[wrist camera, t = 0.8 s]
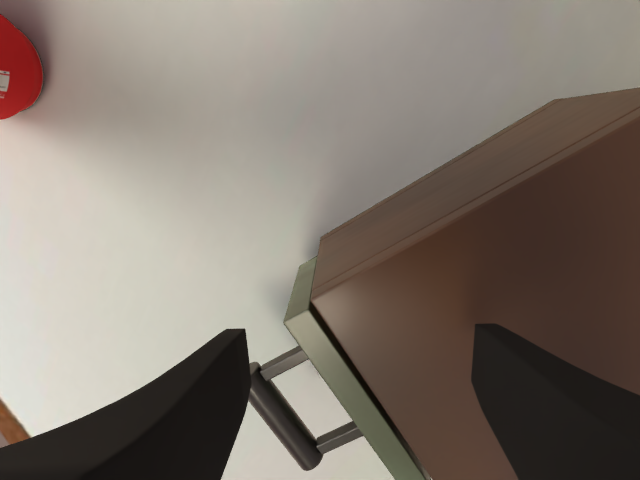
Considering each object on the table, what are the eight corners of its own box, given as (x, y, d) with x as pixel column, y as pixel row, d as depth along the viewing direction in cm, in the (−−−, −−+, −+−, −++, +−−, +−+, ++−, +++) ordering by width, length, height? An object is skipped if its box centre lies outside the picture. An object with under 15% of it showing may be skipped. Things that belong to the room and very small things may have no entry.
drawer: (326, 433, 23) (321, 538, 17) (230, 305, 21) (187, 374, 15) (593, 308, 20) (701, 383, 14) (513, 141, 18) (601, 146, 12)
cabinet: (417, 388, 23) (457, 517, 16) (320, 237, 21) (309, 300, 13) (636, 286, 21) (814, 379, 13) (553, 99, 18) (714, 75, 10)
